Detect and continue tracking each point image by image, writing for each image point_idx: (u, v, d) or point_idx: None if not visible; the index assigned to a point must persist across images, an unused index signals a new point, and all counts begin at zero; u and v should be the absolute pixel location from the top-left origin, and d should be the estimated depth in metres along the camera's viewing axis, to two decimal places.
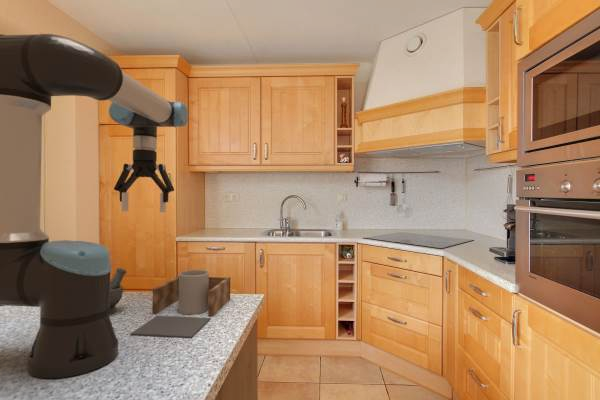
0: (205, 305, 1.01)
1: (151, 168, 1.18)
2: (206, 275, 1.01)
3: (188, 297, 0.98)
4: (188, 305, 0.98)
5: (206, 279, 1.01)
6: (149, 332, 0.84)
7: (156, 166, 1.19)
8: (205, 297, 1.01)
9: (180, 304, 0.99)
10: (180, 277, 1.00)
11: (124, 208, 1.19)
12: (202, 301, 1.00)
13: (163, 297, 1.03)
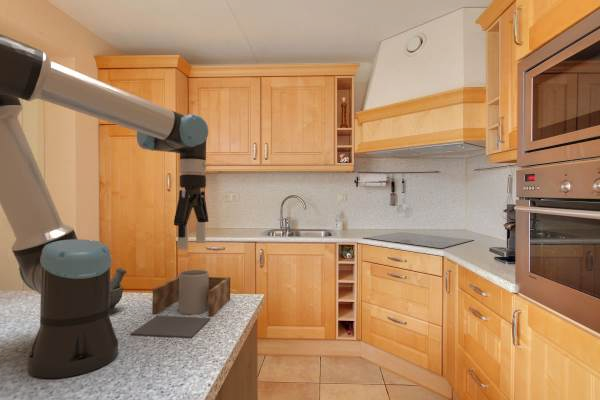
0: (205, 305, 1.01)
1: None
2: (206, 275, 1.01)
3: (188, 297, 0.98)
4: (188, 305, 0.98)
5: (206, 279, 1.01)
6: (149, 332, 0.84)
7: None
8: (205, 297, 1.01)
9: (180, 304, 0.99)
10: (180, 277, 1.00)
11: (197, 239, 1.11)
12: (202, 301, 1.00)
13: (163, 297, 1.03)
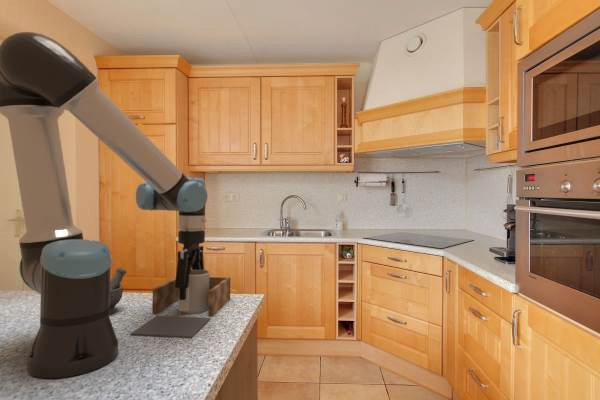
0: (206, 304, 1.02)
1: None
2: (207, 274, 1.02)
3: (189, 297, 0.99)
4: (189, 304, 0.99)
5: (207, 278, 1.02)
6: (149, 332, 0.84)
7: None
8: (206, 296, 1.02)
9: None
10: None
11: None
12: (203, 300, 1.01)
13: (163, 297, 1.03)
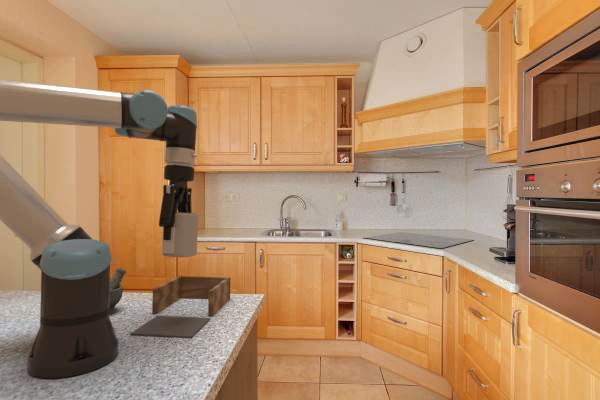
0: (193, 248, 0.90)
1: None
2: (196, 215, 0.91)
3: (175, 238, 0.88)
4: (174, 246, 0.88)
5: (196, 220, 0.91)
6: (149, 332, 0.84)
7: None
8: (194, 240, 0.90)
9: None
10: None
11: None
12: (190, 243, 0.89)
13: (163, 297, 1.03)
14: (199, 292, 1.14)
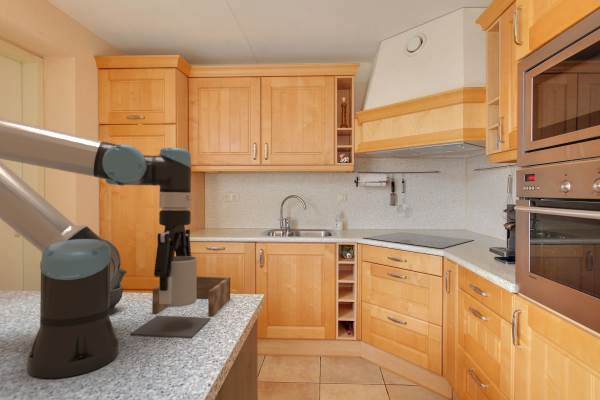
0: (192, 296, 0.87)
1: None
2: (193, 261, 0.87)
3: (172, 287, 0.84)
4: (172, 296, 0.84)
5: (193, 266, 0.87)
6: (149, 332, 0.84)
7: None
8: (192, 287, 0.87)
9: None
10: None
11: None
12: (189, 291, 0.86)
13: None
14: (199, 292, 1.14)
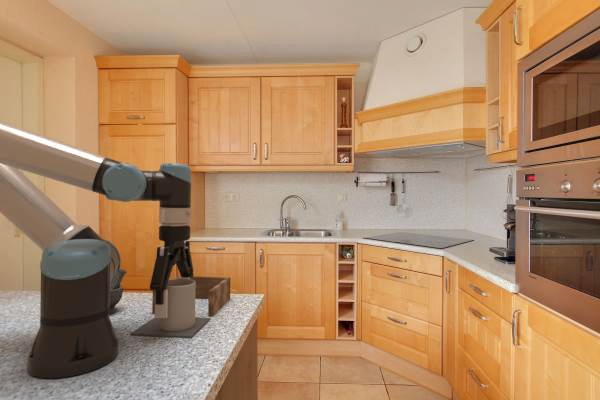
0: (191, 320, 0.87)
1: None
2: (192, 285, 0.87)
3: (171, 312, 0.84)
4: (171, 321, 0.84)
5: (192, 290, 0.87)
6: (149, 332, 0.84)
7: None
8: (191, 311, 0.87)
9: (162, 319, 0.85)
10: None
11: None
12: (187, 316, 0.86)
13: None
14: (199, 292, 1.14)
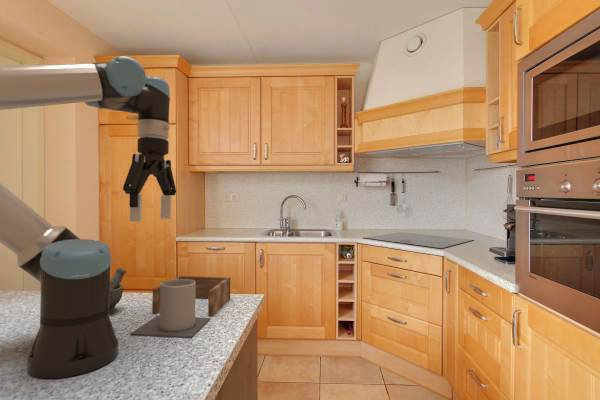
0: (191, 320, 0.87)
1: None
2: (192, 285, 0.87)
3: (171, 312, 0.84)
4: (171, 321, 0.84)
5: (192, 290, 0.87)
6: (149, 332, 0.84)
7: None
8: (191, 311, 0.87)
9: (162, 319, 0.85)
10: (162, 288, 0.85)
11: (162, 214, 0.98)
12: (187, 316, 0.86)
13: None
14: (199, 292, 1.14)
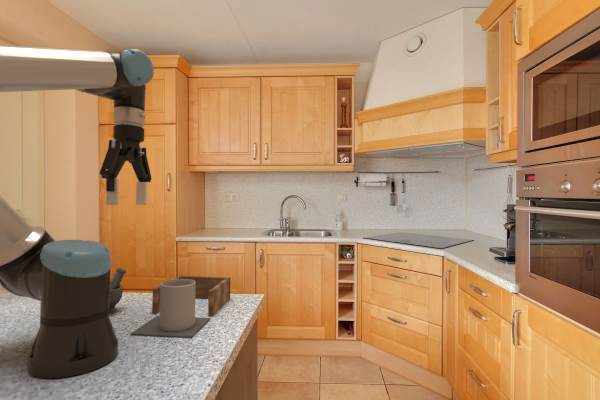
0: (191, 320, 0.87)
1: None
2: (192, 285, 0.87)
3: (171, 312, 0.84)
4: (171, 321, 0.84)
5: (192, 290, 0.87)
6: (149, 332, 0.84)
7: None
8: (191, 311, 0.87)
9: (162, 319, 0.85)
10: (162, 288, 0.85)
11: (137, 200, 1.00)
12: (187, 316, 0.86)
13: None
14: (199, 292, 1.14)
